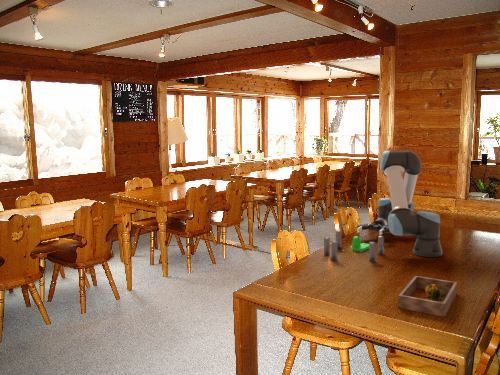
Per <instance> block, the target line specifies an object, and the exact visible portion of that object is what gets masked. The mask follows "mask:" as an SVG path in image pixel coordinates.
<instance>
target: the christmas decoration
mask: <svg viewBox="0 0 500 375" xmlns="http://www.w3.org/2000/svg"><path fill="white" fill-rule="evenodd" d="M426 282H427V281H426ZM441 288H442V286H441ZM441 288H440V287H439V285H438V286H437V284H436V285H435V284H431V285H429V284H428V286H427V288H426V289H424V290H425V291H424V293H425V295H426V299H428V300H431V301H437V302H442V303H443V301H444V300H445V298H446V296H447V293H445V291H444V290H443V289H441ZM443 291H444V292H443ZM446 292H447V291H446ZM448 292H449V291H448Z"/></svg>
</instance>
